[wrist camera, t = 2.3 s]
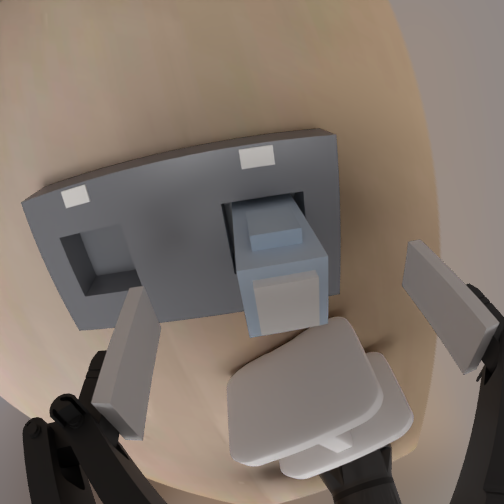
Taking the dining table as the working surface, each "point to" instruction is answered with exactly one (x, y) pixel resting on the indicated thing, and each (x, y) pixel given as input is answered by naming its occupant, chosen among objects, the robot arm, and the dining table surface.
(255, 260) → the plug
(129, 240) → the socket panel
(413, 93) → the dining table surface
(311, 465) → the cable organizer
